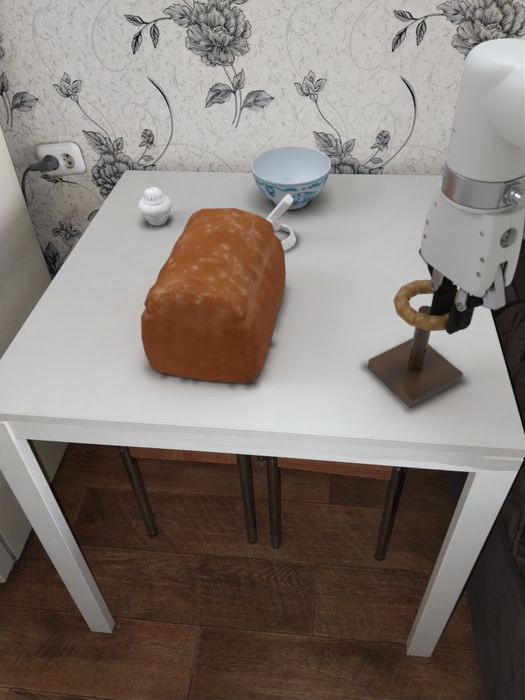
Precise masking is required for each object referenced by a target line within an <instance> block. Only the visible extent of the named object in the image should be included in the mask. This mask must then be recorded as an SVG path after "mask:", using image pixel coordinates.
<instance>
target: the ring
mask: <svg viewBox="0 0 525 700" xmlns="http://www.w3.org/2000/svg"><path fill="white" fill-rule="evenodd" d="M430 283H431V279H416V280H413V281H411V282H409V283H407V284H404V285H402V286H401V287H400V288H399V289H398V291H397V292H396V294H395V296H394V298H393V305H394V308H395V313H396V315H397V316H398V317H399V318H400V319H401V320H403V321H404V322H405V323H406V324H408V325H409V326H411V327H414V328H415V327H417V328H420V329H423V330H427V331H431V332H437V331H438V332H439V331H446V326H447V322H448V317H449V313H450V312H449V313H447V314H445V315H437V316H430V315H426V314H423V313H419V312H418V311H417V310H416V309H415V308H414V307H412V306H411V304H410V301H411V300H412V298H414V297H417V296H418V295H433V294H434V291H433V290H432V289H431V286H430ZM458 292H459V288H457V294H456V298H455V302H454V305H456V302H457V297H458Z"/></svg>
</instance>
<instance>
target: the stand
mask: <svg viewBox="0 0 525 700" xmlns="http://www.w3.org/2000/svg"><path fill="white" fill-rule="evenodd" d="M430 308H431V305H422V306H419V308H418V311H417V312H419V313H423V314H426V315H429V313H430ZM431 332H432V331H427V330H423V329H420V328H417V327H414V331H413V336H412V338H410V339H408V340H406V341H403V342H402V343H400V344H398V345H396V346H393V347H392V348H390V349H387V350H385V351H383V352H381V353H379V354H378V355H375V356H374V357H371V358H369V359H368V361H367V368H368V369H369V370H370V371H371V372H372V373H373V374H374V375H375V376H376V377H377V378H378V379H379V380H380V381H381V382H383V383H384V384H385V385H386V387H388V389H390V391H392V392H393V393H394V394H395V395H396V396H397V397H398V398H399V399H400V400H401V401H403V403H404V404H405V405H406V406H407V407H409V408H410V409H412V408H414V407H416V406H418V405H420V404H422V403H423V402H425V401H427V400H429V399H431V398H432V397H434V396H436V395H438V394H439V393H441V392H443V391H445V390H446V389H448V388H450V387H452V386H454V385H455V384H458V383H459V382H462V379H463V376H464V372H462V371H461V370H460V369H458V368H457V367H456V366H455V365H454V364H453V363H452V362H450V361H449V360H448V359H447V358H446V357H444V356H443V355H442V354H440V352H439V351H437V350H436V349H434V348H433V347H432V346H431V345H430V344H429V341H430V337H431Z"/></svg>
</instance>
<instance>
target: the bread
mask: <svg viewBox="0 0 525 700" xmlns="http://www.w3.org/2000/svg"><path fill="white" fill-rule="evenodd" d="M281 241H282V240H281V239H280V238H279V237H278V236H277V235H275V231H274V229H273V226H272V223H271V222H270V221H268V220H267V218H265V217H264V216H262V215H259V214H257V213H254V212H250V211H247V210H243V209H240V208H237V207H213V208H211V207H210V208H200V209H199V210H198V211H195V212H194V213H192V214H191V216H190V217H189V218H188V219H187V222H186V224H185V226H184V228H183V230H182V233H181V234H180V236H179V237H178V239H176V242H175V243H174V245H173V247H172V248H171V252H170V254H169V256H168V258H167V259H166V261H165V262H164V264H163V265H162V267H161V268H160V270H159V273H158V274H157V277H156V280H155V282H154V284H153V285H152V286H151V287H150V288H149V289H148V292H147V294H146V297H145V300H144V303H143V305H144V307H145V308H144V310H143V312H142V313H141V315H140V327H141V329H140V331H141V332H140V333H141V342H142V347H143V350H144V355H145V357H146V360H147V361H148V364H149V366H150V367H151V368H152V369H153V370H154V371H155V372H157V373H162V374H165V375H171V376H174V377H180V378H185V379H191V380H198V381H199V380H200V381H208V382H217V383H218V382H220V383H222V382H224V383H250V382H251V381H252V380H254V379H255V378H257V377H258V375H259V373H260V372H261V370H262V369H263V368H264V366H265V363H266V360H267V356H268V353H269V350H270V346H271V342H272V337H273V333H274V329H275V324H276V320H277V315H278V311H279V310H280V308H281V306H282V302H283V298H284V295H285V288H286V278H287V276H286V275H287V270H286V269H287V268H286V257H285V251H284V250H283V247H282V243H281Z"/></svg>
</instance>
